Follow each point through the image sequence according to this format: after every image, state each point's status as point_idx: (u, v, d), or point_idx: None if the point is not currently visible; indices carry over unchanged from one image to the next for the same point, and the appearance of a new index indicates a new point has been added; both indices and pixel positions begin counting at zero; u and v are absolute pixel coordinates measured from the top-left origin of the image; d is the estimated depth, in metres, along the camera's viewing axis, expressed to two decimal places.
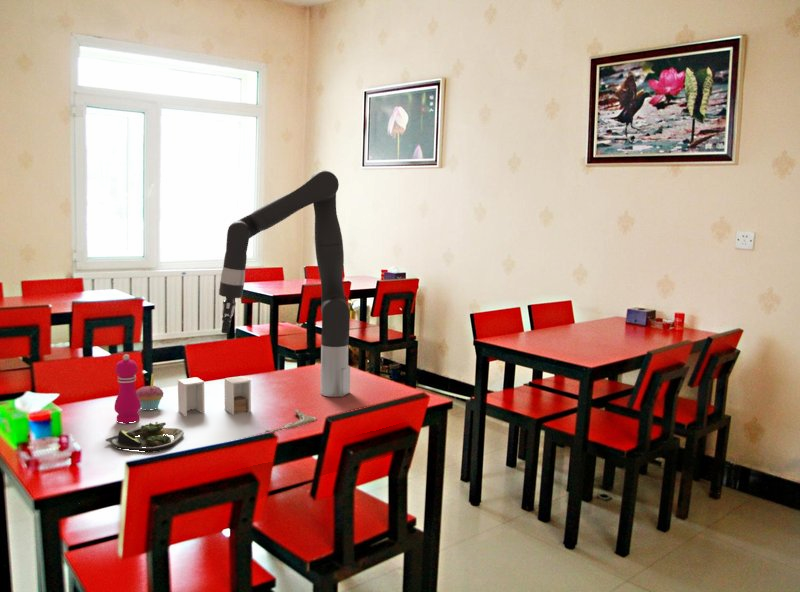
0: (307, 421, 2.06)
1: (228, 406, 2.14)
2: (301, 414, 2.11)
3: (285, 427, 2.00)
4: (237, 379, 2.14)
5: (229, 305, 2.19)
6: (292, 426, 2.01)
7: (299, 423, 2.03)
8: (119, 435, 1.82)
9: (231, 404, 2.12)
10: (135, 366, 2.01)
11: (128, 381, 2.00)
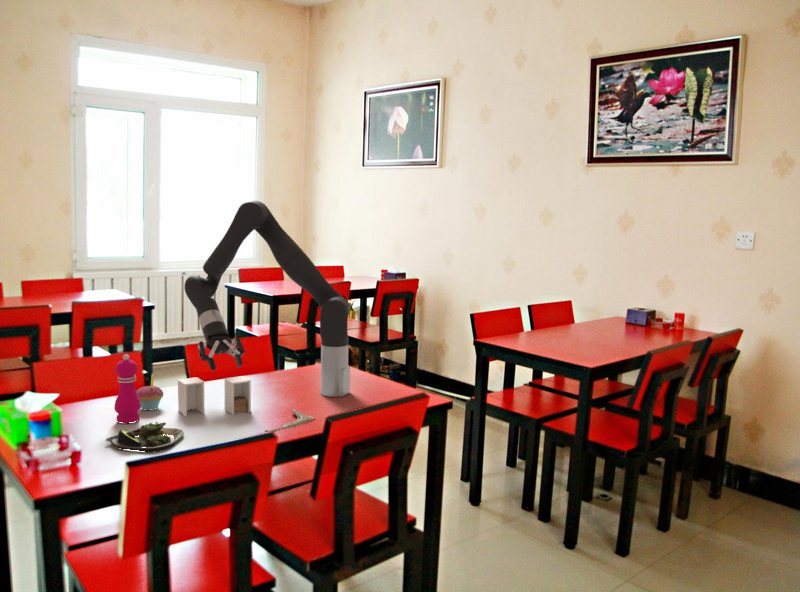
0: (305, 420, 2.06)
1: (228, 406, 2.14)
2: (299, 414, 2.11)
3: (284, 427, 2.00)
4: (237, 379, 2.14)
5: (198, 344, 2.21)
6: (291, 426, 2.01)
7: (297, 423, 2.04)
8: (119, 435, 1.82)
9: (231, 404, 2.12)
10: (135, 366, 2.01)
11: (128, 381, 2.00)
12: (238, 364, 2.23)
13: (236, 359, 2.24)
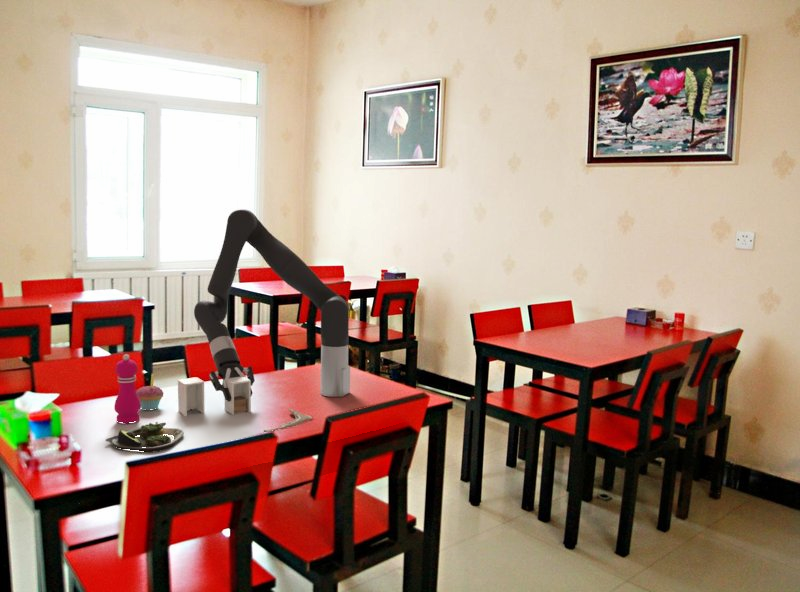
0: (303, 420, 2.06)
1: (228, 406, 2.14)
2: (296, 413, 2.11)
3: (282, 427, 2.01)
4: (237, 379, 2.14)
5: (210, 375, 2.14)
6: (289, 425, 2.02)
7: (296, 422, 2.04)
8: (119, 435, 1.82)
9: (231, 404, 2.12)
10: (135, 366, 2.01)
11: (128, 381, 2.00)
12: None
13: None
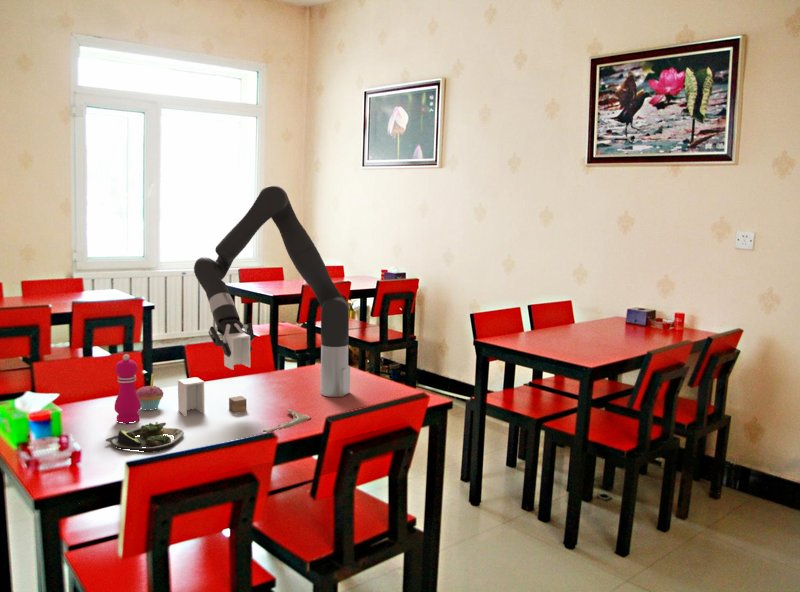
0: (302, 420, 2.07)
1: (227, 362, 2.13)
2: (294, 413, 2.11)
3: (281, 426, 2.01)
4: (236, 334, 2.13)
5: (210, 330, 2.13)
6: (288, 425, 2.02)
7: (294, 422, 2.04)
8: (119, 435, 1.82)
9: (231, 359, 2.11)
10: (135, 366, 2.01)
11: (128, 381, 2.00)
12: None
13: None
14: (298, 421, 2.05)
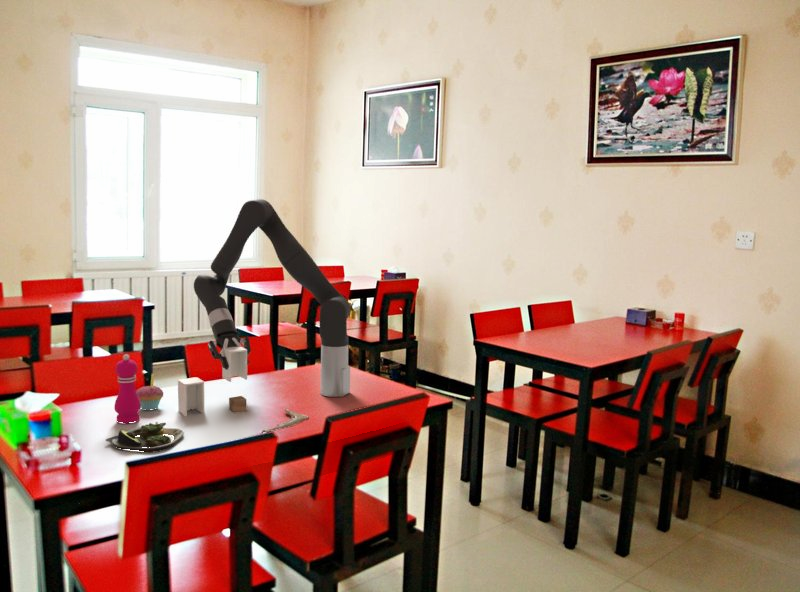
0: (300, 419, 2.07)
1: (225, 374, 2.24)
2: (292, 413, 2.12)
3: (280, 426, 2.01)
4: (234, 348, 2.25)
5: (209, 344, 2.24)
6: (287, 425, 2.02)
7: (293, 422, 2.04)
8: (119, 435, 1.82)
9: (228, 372, 2.22)
10: (135, 366, 2.01)
11: (128, 381, 2.00)
12: None
13: None
14: (296, 421, 2.06)
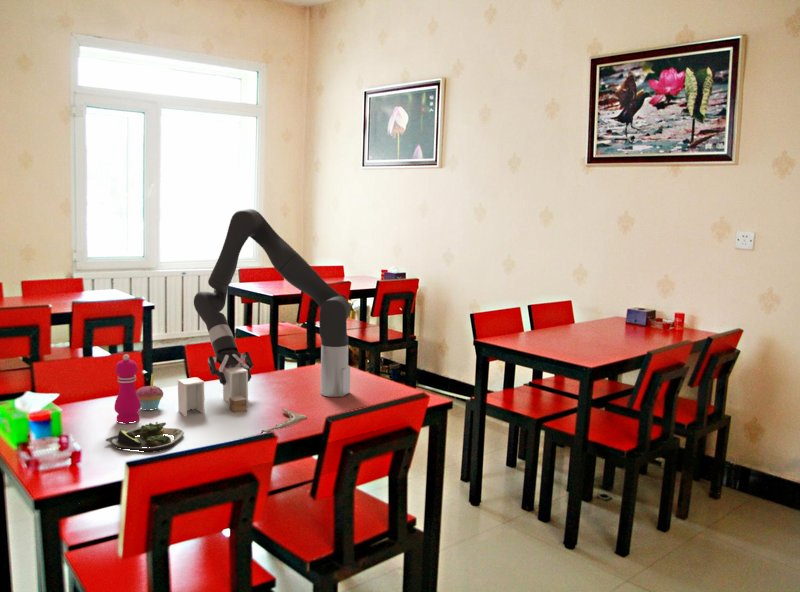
0: (298, 419, 2.07)
1: (226, 395, 2.25)
2: (290, 412, 2.12)
3: (279, 426, 2.01)
4: (235, 369, 2.26)
5: (208, 359, 2.25)
6: (286, 425, 2.02)
7: (292, 421, 2.05)
8: (119, 435, 1.82)
9: (229, 393, 2.23)
10: (135, 366, 2.01)
11: (128, 381, 2.00)
12: None
13: None
14: (295, 420, 2.06)
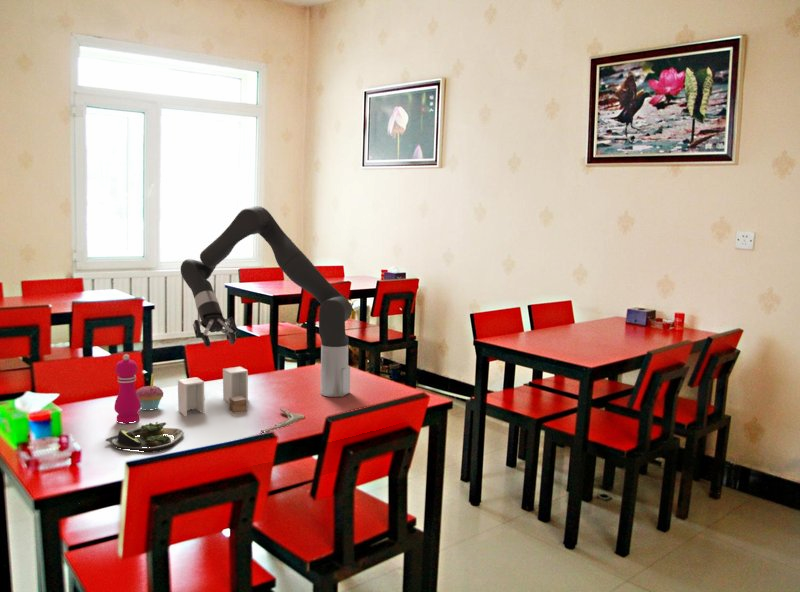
0: (297, 419, 2.07)
1: (226, 395, 2.25)
2: (288, 412, 2.12)
3: (278, 426, 2.01)
4: (235, 369, 2.26)
5: (194, 323, 2.34)
6: (284, 424, 2.02)
7: (290, 421, 2.05)
8: (119, 435, 1.82)
9: (229, 393, 2.23)
10: (135, 366, 2.01)
11: (128, 381, 2.00)
12: (231, 341, 2.37)
13: (229, 337, 2.38)
14: (293, 420, 2.06)
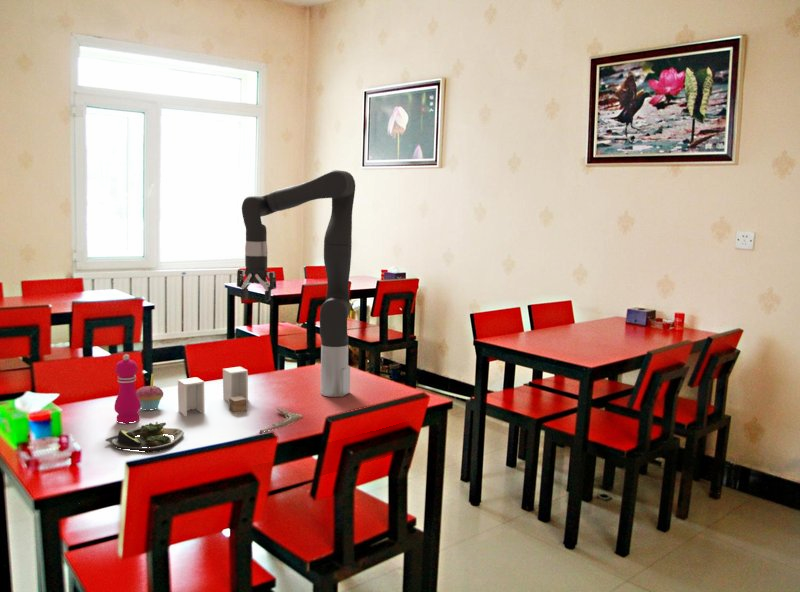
0: (295, 418, 2.08)
1: (226, 395, 2.25)
2: (285, 412, 2.12)
3: (276, 426, 2.01)
4: (235, 369, 2.26)
5: None
6: (283, 424, 2.03)
7: (288, 421, 2.05)
8: (119, 435, 1.82)
9: (229, 393, 2.23)
10: (135, 366, 2.01)
11: (128, 381, 2.00)
12: None
13: None
14: (292, 420, 2.06)
